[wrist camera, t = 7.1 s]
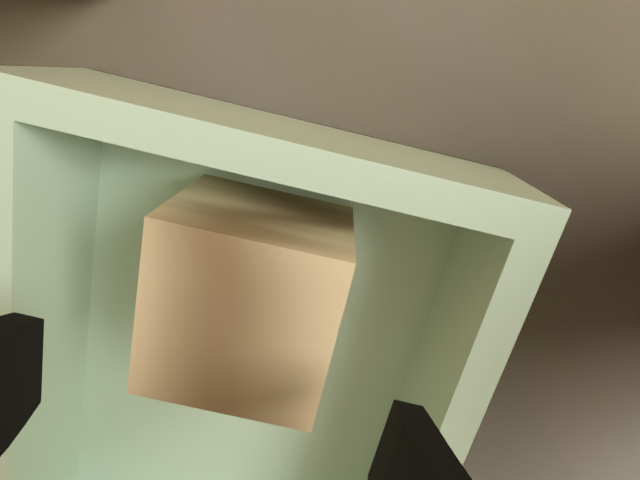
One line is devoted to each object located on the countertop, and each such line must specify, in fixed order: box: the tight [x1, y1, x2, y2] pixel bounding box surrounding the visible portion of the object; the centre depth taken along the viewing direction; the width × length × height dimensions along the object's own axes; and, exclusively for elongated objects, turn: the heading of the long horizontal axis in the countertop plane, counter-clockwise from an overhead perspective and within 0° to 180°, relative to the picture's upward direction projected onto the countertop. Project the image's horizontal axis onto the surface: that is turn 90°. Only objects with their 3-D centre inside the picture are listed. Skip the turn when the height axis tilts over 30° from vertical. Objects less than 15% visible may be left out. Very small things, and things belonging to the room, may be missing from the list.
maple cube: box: [127, 174, 356, 433], centre depth 14 cm, size 5×5×5 cm
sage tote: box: [0, 66, 572, 480], centre depth 16 cm, size 14×18×5 cm
